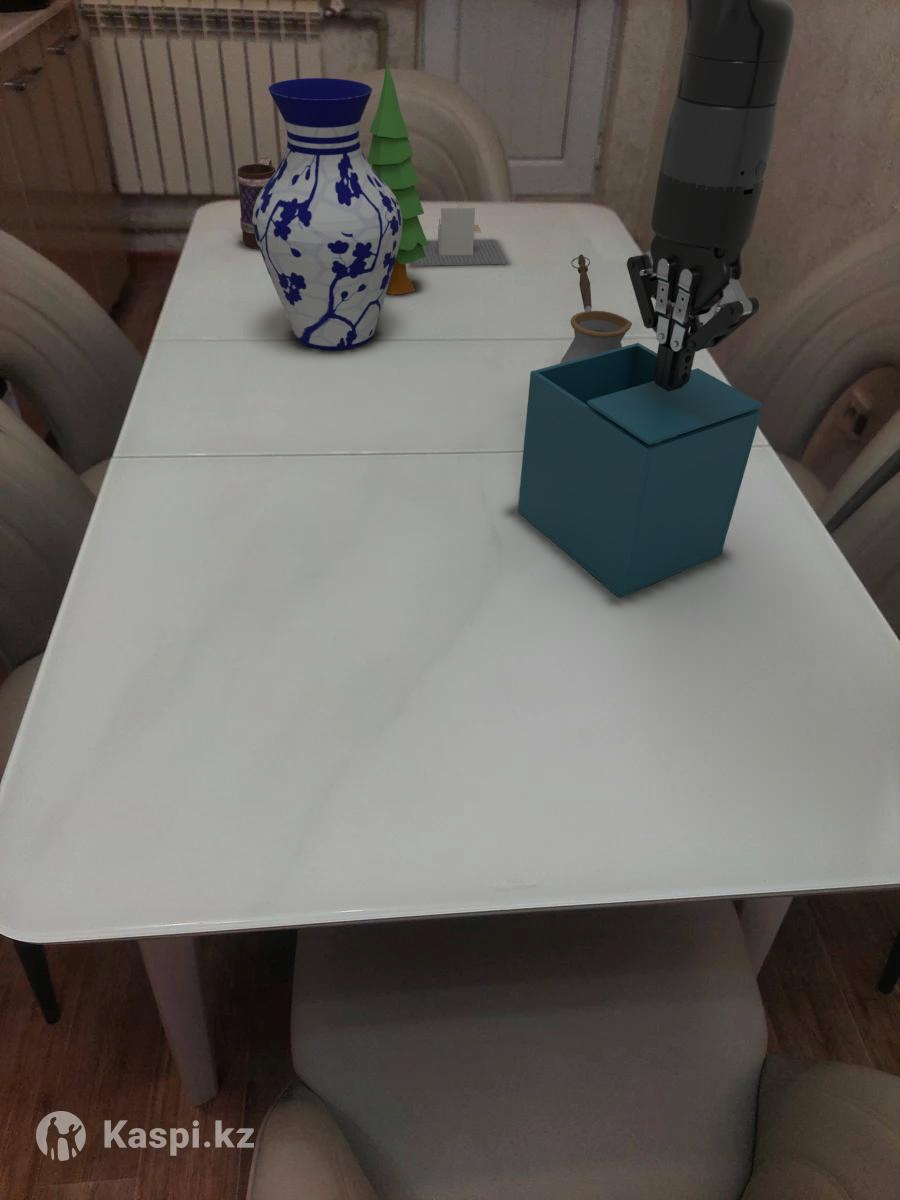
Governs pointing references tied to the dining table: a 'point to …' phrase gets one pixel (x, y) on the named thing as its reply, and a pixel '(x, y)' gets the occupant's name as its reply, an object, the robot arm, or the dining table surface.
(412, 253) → the decorative tree
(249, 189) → the mug
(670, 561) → the open storage box
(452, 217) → the napkin holder
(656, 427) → the flap
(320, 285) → the vase
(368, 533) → the dining table surface
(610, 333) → the coffee pot
